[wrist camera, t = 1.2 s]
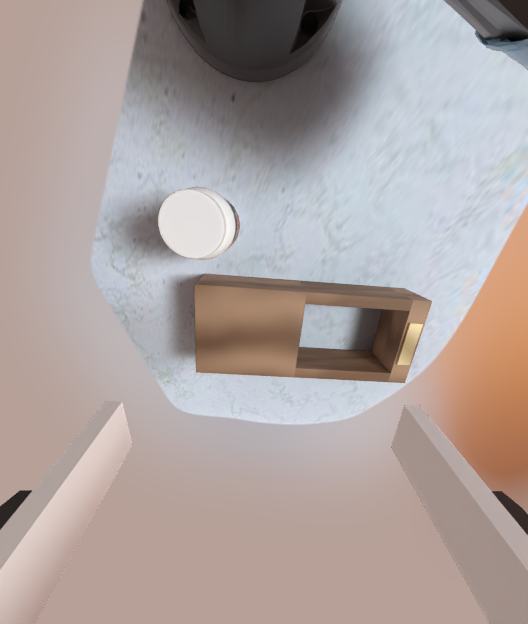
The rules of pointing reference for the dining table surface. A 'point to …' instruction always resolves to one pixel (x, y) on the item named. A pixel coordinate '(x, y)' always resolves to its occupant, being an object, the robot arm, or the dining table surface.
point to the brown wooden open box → (287, 329)
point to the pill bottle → (198, 223)
